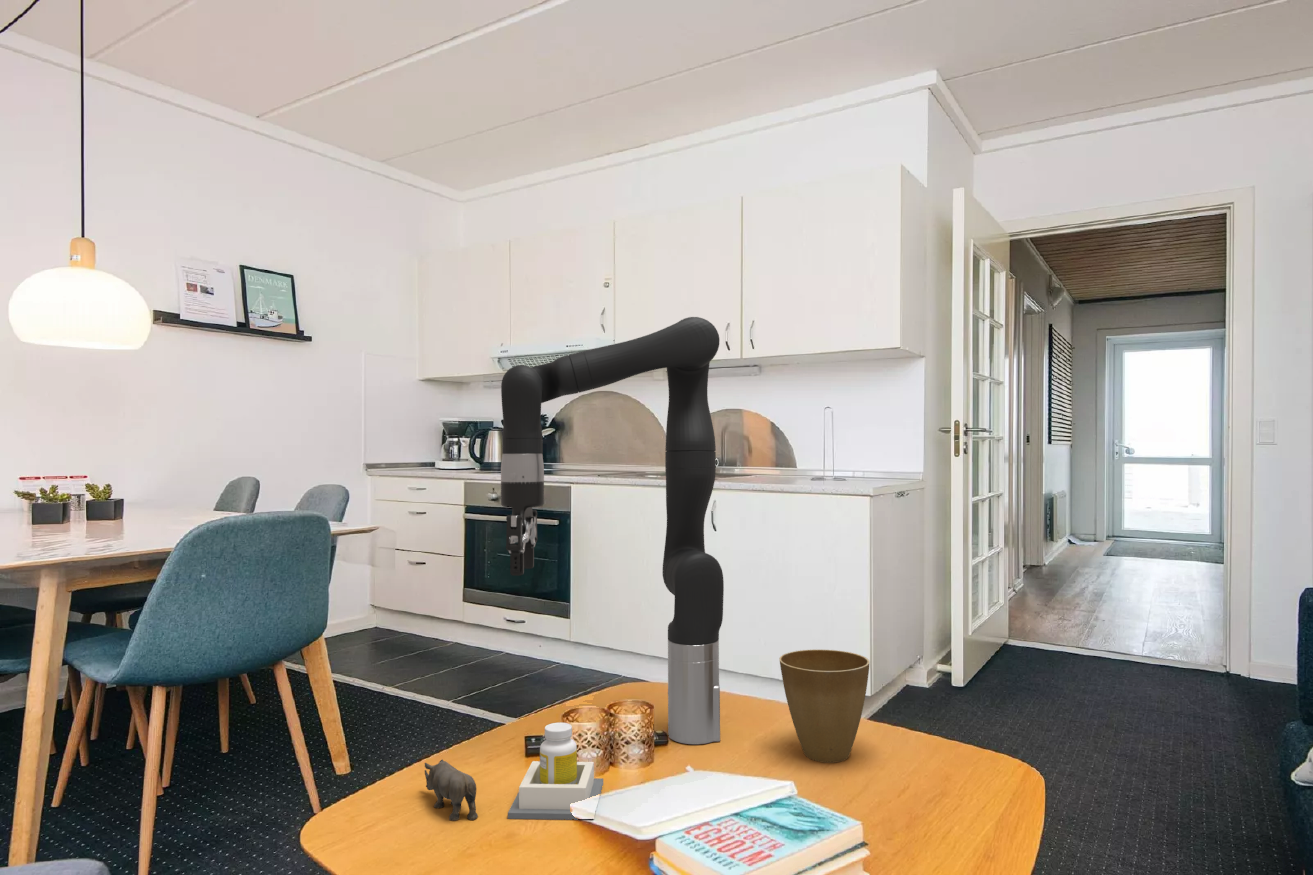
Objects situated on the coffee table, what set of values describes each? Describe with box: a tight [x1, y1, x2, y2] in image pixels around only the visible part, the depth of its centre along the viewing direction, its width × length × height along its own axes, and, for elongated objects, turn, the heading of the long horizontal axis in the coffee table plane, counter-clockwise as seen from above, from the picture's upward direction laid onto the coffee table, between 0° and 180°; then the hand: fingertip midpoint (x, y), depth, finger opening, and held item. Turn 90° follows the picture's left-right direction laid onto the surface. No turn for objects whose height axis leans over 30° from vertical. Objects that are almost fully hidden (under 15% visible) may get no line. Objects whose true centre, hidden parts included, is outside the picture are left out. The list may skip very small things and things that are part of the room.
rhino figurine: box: [424, 759, 479, 821], centre depth 112 cm, size 4×14×6 cm, turn 41°
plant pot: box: [779, 649, 871, 763], centre depth 131 cm, size 15×15×16 cm
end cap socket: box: [507, 760, 604, 821], centre depth 114 cm, size 12×12×4 cm
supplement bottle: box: [539, 722, 578, 784], centre depth 114 cm, size 5×5×10 cm
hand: (522, 571), depth 137 cm, fingers open, 8 cm apart
